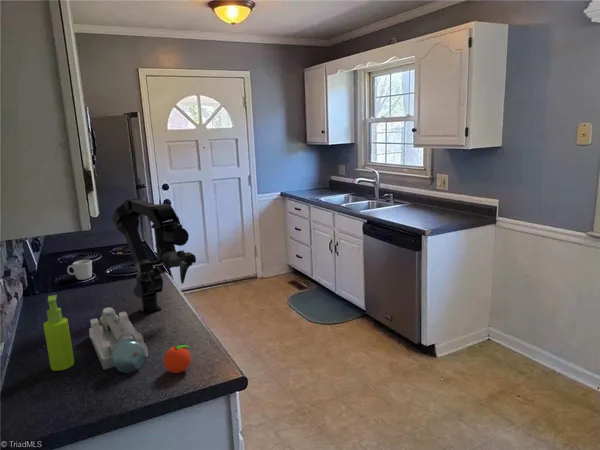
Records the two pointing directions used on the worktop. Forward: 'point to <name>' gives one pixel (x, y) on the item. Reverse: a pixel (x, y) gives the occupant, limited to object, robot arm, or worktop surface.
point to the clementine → (177, 359)
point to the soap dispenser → (58, 338)
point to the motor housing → (118, 346)
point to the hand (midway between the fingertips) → (169, 286)
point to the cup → (81, 269)
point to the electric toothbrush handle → (114, 325)
